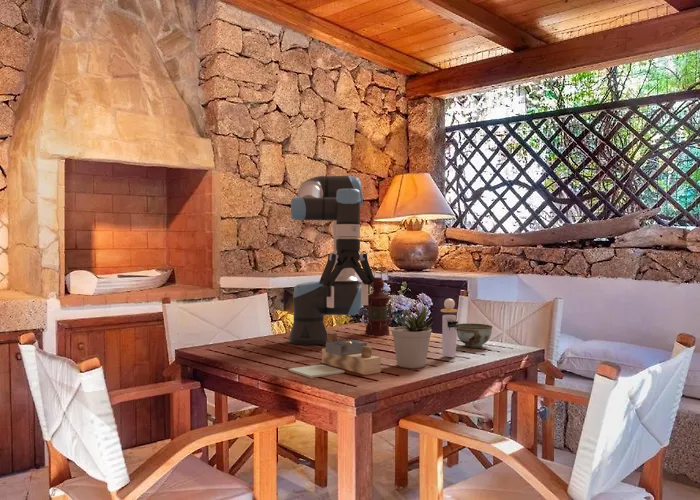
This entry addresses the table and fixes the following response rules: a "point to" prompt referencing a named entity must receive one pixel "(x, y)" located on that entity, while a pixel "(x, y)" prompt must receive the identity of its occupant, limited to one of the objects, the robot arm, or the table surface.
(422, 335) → the potted plant
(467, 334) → the bowl
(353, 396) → the table surface
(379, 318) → the lantern
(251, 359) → the table surface
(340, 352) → the grey block with knob
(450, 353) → the perfume bottle
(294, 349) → the table surface
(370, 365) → the body
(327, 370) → the felt pad
